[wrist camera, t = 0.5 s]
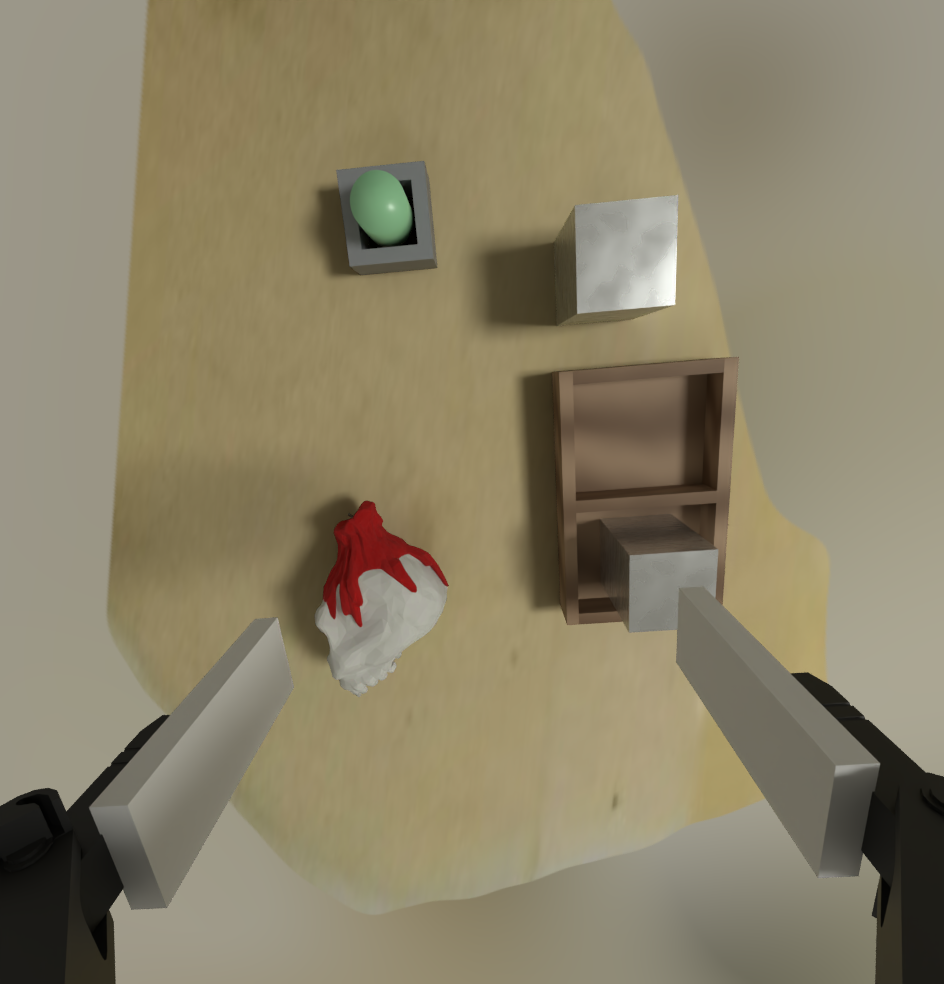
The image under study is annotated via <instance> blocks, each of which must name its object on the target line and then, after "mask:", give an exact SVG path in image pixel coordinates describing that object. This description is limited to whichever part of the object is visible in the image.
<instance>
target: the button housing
mask: <svg viewBox="0 0 944 984" xmlns="http://www.w3.org/2000/svg"><path fill="white" fill-rule="evenodd" d="M371 170H382V171H386V172H388V173H390V174H391V175H393V176H394V177H395V178H396V179H397V180H398V181H399V183H400V184H401V186H402V188H403V190H404V192H405V195H406V197H411V196H413V203H414V212H415V222H416V232H417V242H418V244H415V245H405V246H395V247H385V248H374V249H370V244H369V236H368V234H367V233H366V232H365V231H364V230H363V228H362V227H361V226H360V225H359V224H358V222H357V221H356V219H355V218H354V216H353V214H352V211H351V206H350V194H351V190H352V187H353V185H354V183H355V181H356V180H357V179H358V178H359V177H360V176H361V175H362V174H364V173H366V172H368V171H371ZM336 171H337V178H338V185H339V193H340V200H341V207H342V214H343V221H344V229H345V236H346V243H347V250H348V257H349V265H350V267H351V268H352V269H353V270H355V271H356V272H357V273H359V274H360V275H367V274H378V273H388V272H399V271H410V270H420V269H431V268H437V259H436V249H435V238H434V227H433V217H432V206H431V195H430V184H429V177H428V174H427V170H426V166H425V162H424V161H419V162H409V163H399V164H390V165H380V166H371V167H361V168H351V169H342V170H336Z"/></svg>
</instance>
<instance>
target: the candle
mask: <svg viewBox="0 0 944 984" xmlns="http://www.w3.org/2000/svg"><path fill="white" fill-rule="evenodd" d="M348 516H350V517H352V518H351V519H348V520H344V521H341V522H339V523H338V524H337V526H336V527H335V529H334V535H335V538H336V540H337V543H338V556H337V561H336V564H335V566H334V567H333V569H332V570H331V572H330V574H329V576H328V579H327V581H326V584H325V585H324V591H323V601H322V604H321V605H320V606H319V607H318V609H317V610H316V613H315V624H316V626H317V627H318V629H319V630H320V631H321V632H322V633H324V634H325V635H326V636H327V638H328V642H329V645H330V653H329V655H328V657H327V661H328V663H329V666H330V669H331V672H332V676H333V677H334V678H335V679H336V680H337V679H339V681H340V686H341V687H342V688H343V689H345V690H349V691H350V692H352V693H353V694H355V695H356V696H358V697H360V696H361V693H362V694H363V693H366V692H367V690H368V689H367V687H366V685H367V686H372V687H373V686H375V685H376V684H377V683H378V680H384V679H386V677H387V672H391V673H393V672H394V670H395V669H396V663H395V662H393V660H395V658H400V657H401V654H402V651H403V650H404V649H406V648H407V647H408V646H410V645H411V644H412V643H414V642H415V641H417V640H418V639H420V638H421V637H423V636H424V635H425V634H427V633H428V632H429V631H430V630H431V629H432V628H433V627H434V625H435V624H436V622H437V620H438V618H439V616H440V615H441V613H442V612H443V609H444V605H445V602H446V599H447V586H449V585H448V583H447V581H446V579H445V577H444V575H443V573H442V571H441V569H440V568H439V566H438V564H437V563H436V562H435V560H434V559H433V558H432V556H431V555H430V554H429V553H428V552H426V551H424V550H422V549H420V548H417V547H414V546H410V545H408V544H407V543H406V542H405V541H404V540H403V539H401V538H399V537H397V536H395V535H392V534H390V533H388V532H387V531H386V530H385V529H384V528H383V527H382V522H383V520H382V518H381V516H380V515H379V514H378V513H377V511H376V507H375V503H373V502H370V501H364V502H363V503H362V504H361V506H360V507H359V509H358V511H357V512H356V513H355V515H354V516H353V515H351V514H349V513H348Z"/></svg>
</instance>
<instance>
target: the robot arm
mask: <svg viewBox="0 0 944 984" xmlns="http://www.w3.org/2000/svg"><path fill="white" fill-rule="evenodd" d="M676 662H677V664H678V665H679V667H680V668H681V670H682V672H683V673H684V675H685V676H686V678H687V679H688V681H689V682H690V684H691V685H692V687H693V688H694V690H695V691H696V693H697V694H698V696H699V697H700V699H701V700H702V702H703V704H704V705H705V707H706V708H707V710H708V711H709V713H710V714H711V716H712V717H713V719H714V720H715V722H716V723H717V725H718V726H719V728H720V729H721V731H722V733H723V734H724V736H725V737H726V739H727V740H728V742H729V743H730V745H731V746H732V748H733V749H734V751H735V752H736V754H737V755H738V757H739V758H740V760H741V761H742V763H743V765H744V766H745V768H746V769H747V771H748V772H749V774H750V775H751V777H752V778H753V780H754V781H755V783H756V784H757V786H758V787H759V789H760V790H761V792H762V793H763V795H764V797H765V798H766V800H767V801H768V803H769V804H770V805H771V807H772V809H773V810H774V812H775V813H776V815H777V816H778V818H779V819H780V821H781V822H782V824H783V825H784V827H785V828H786V830H787V831H788V833H789V835H790V836H791V838H792V839H793V841H794V842H795V843H796V845H797V847H798V848H799V850H800V851H801V853H802V854H803V856H804V857H805V859H806V860H807V862H808V864H809V865H810V866H811V868H812V870H813V871H814V872H815V874H816V876H817V877H818V878H829V877H851V876H858V875H859V870H860V866H861V860H862V855H863V853H864V854H865V856H866V857H867V858H868V860H869V861H870V862H871V863H872V865H873V866H874V867H875V868H876V870H877V871H878V872H879V873H880V879H879V884H878V888H877V893H876V898H875V902H874V908H873V912H872V916H874V917H875V918H877V938H876V975H875V984H944V777H943V776H939V775H935V774H932V773H926V772H925V771H923V770H922V769H921V768H920V767H919V766H918V765H917V764H916V763H915V762H914V761H913V760H911V759H910V758H909V757H908V756H907V755H906V754H905V753H904V752H903V751H901V749H900V748H898V747H897V746H896V745H895V744H894V743H893V742H892V741H891V740H890V739H889V738H887V737H886V736H885V735H884V734H883V733H882V732H881V731H880V730H879V729H878V728H877V727H876V726H874V725H873V724H872V723H871V722H870V721H869V720H865V717H864V715H862V714H861V713H860V712H859V711H858V710H857V709H856V708H855V707H854V706H851V705H850V703H849V702H848V701H847V700H846V699H845V698H844V697H843V696H842V695H841V694H840V693H839V692H837V691H836V690H835V689H834V688H833V687H832V686H830V685H829V684H827V683H825V682H824V681H822V680H820V679H818V678H817V677H815V676H813V675H811V674H810V673H808V672H807V673H791V674H790V673H789V672H788V671H787V670H786V669H785V668H784V667H783V666H782V665H781V664H780V663H779V662H778V661H777V660H776V659H775V658H774V657H773V656H772V655H771V654H770V653H769V652H768V651H767V650H766V649H765V648H764V647H763V646H762V645H761V644H760V643H759V642H758V641H757V640H756V639H755V638H754V637H753V636H752V635H751V634H750V633H749V632H748V631H747V630H746V629H745V628H744V627H743V626H742V625H741V624H740V623H739V622H738V621H737V620H736V619H735V618H734V617H733V616H732V615H731V614H730V613H729V612H728V611H727V610H726V609H725V608H724V607H723V606H722V605H721V604H720V603H719V602H718V601H717V600H716V599H715V598H714V597H713V596H712V595H711V594H710V593H709V592H708V591H707V590H706V589H705V588H704V587H703V586H701V587H687V588H679V599H678V626H677V654H676ZM293 688H294V685H293V681H292V677H291V672H290V668H289V664H288V660H287V655H286V651H285V647H284V643H283V638H282V634H281V630H280V626H279V621H278V617H276V618H262V619H255V620H254V621H253V622H252V623H251V624H250V625H249V626H248V628H247V629H246V630H245V631H244V632H243V633H242V634H241V636H240V637H239V638H238V639H237V640H236V641H235V642H234V643H233V645H232V646H231V647H230V648H229V649H228V650H227V651H226V653H225V654H224V655H223V656H222V657H221V658H220V659H219V660H218V662H217V663H216V664H215V665H214V666H213V667H212V668H211V670H210V671H209V672H208V673H207V674H206V675H205V676H204V678H203V679H202V680H201V681H200V682H199V683H198V684H197V685H196V687H195V688H194V689H193V690H192V691H191V692H190V693H189V695H188V696H187V697H186V698H185V699H184V700H183V701H182V702H181V704H180V705H179V706H178V707H177V708H176V709H175V710H174V712H173V713H172V714H171V715H162V716H161V717H159V718H158V719H157V720H155V721H154V722H152V723H151V724H150V725H149V726H147V727H146V728H144V729H143V730H142V731H140V732H139V734H138V735H137V736H136V737H135V738H134V739H133V740H132V741H131V742H130V743H129V744H128V745H127V747H126V748H125V750H124V752H121V753H120V754H119V755H118V756H117V757H116V758H115V759H114V761H113V762H112V763H111V766H110V767H107V768H106V769H105V770H104V771H103V772H102V774H101V775H100V776H99V777H98V778H97V779H96V780H95V781H94V782H93V783H92V784H91V785H90V787H89V788H88V789H87V790H86V791H85V792H84V793H83V794H82V795H81V796H80V797H79V799H78V800H77V801H76V802H75V803H74V804H73V805H72V806H71V807H70V808H69V809H68V810H67V811H66V810H65V808H64V806H63V803H62V801H61V799H60V796H59V794H58V792H57V790H54V789H50V788H45V789H38V790H33V791H31V792H28V793H25V794H23V795H20V796H18V797H16V798H14V799H12V800H10V801H9V802H7V803H5V804H3V805H1V806H0V984H115V950H114V922H113V918H112V916H111V913H110V911H109V909H110V907H111V906H112V904H113V903H114V901H115V900H116V898H117V897H118V896H119V894H120V893H121V891H122V890H124V893H125V895H126V897H127V900H128V902H129V905H130V907H131V909H153V908H167V907H168V905H169V904H170V902H171V900H172V898H173V897H174V895H175V893H176V891H177V890H178V888H179V886H180V885H181V883H182V881H183V879H184V877H185V876H186V874H187V872H188V871H189V869H190V867H191V865H192V864H193V862H194V860H195V858H196V857H197V855H198V853H199V851H200V850H201V848H202V846H203V845H204V843H205V841H206V839H207V838H208V836H209V834H210V832H211V831H212V829H213V827H214V825H215V824H216V822H217V820H218V819H219V817H220V815H221V813H222V811H223V810H224V808H225V806H226V805H227V803H228V801H229V799H230V798H231V796H232V794H233V792H234V791H235V789H236V787H237V785H238V784H239V782H240V780H241V779H242V777H243V775H244V773H245V772H246V770H247V768H248V766H249V765H250V763H251V761H252V759H253V758H254V756H255V754H256V752H257V751H258V749H259V747H260V745H261V744H262V742H263V740H264V739H265V737H266V735H267V733H268V732H269V730H270V728H271V726H272V725H273V723H274V721H275V719H276V718H277V716H278V714H279V712H280V711H281V709H282V707H283V706H284V704H285V702H286V700H287V699H288V697H289V695H290V693H291V692H292V690H293Z"/></svg>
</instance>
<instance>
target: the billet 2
mask: <svg viewBox="0 0 944 984" xmlns="http://www.w3.org/2000/svg"><path fill="white" fill-rule="evenodd" d="M717 564H718V549H717V548H716V547H715V546H713V545H712V544H711V543H709V542H708V541H707V540H705V539H704V538H703V537H701V536H700V535H699V534H697V533H696V532H695V531H693V530H692V529H691V528H689V527H688V526H687V525H685V524H684V523H683V522H681V521H680V520H679V519H677V518H676V517H675V516H673V515H672V514H659V515H645V516H631V517H617V518H603V519H600V569H601V584H602V586H603V588H604V589H605V591H606V593H607V595H608V596H609V598H610V600H611V602H612V603H613V605H614V607H615V609H616V610H617V612H618V614H619V616H620V617H621V619H622V621H623V623H624V624H625V626H626V628H627V630H628V632H646V631H662V630H677V626H678V599H679V588H687V587H701V586H703V587H704V588H705V589H706V590H707V591H708V592H709V593H710V594H711V595H712V596H713V597H714V598H715V597H716V581H717Z"/></svg>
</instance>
